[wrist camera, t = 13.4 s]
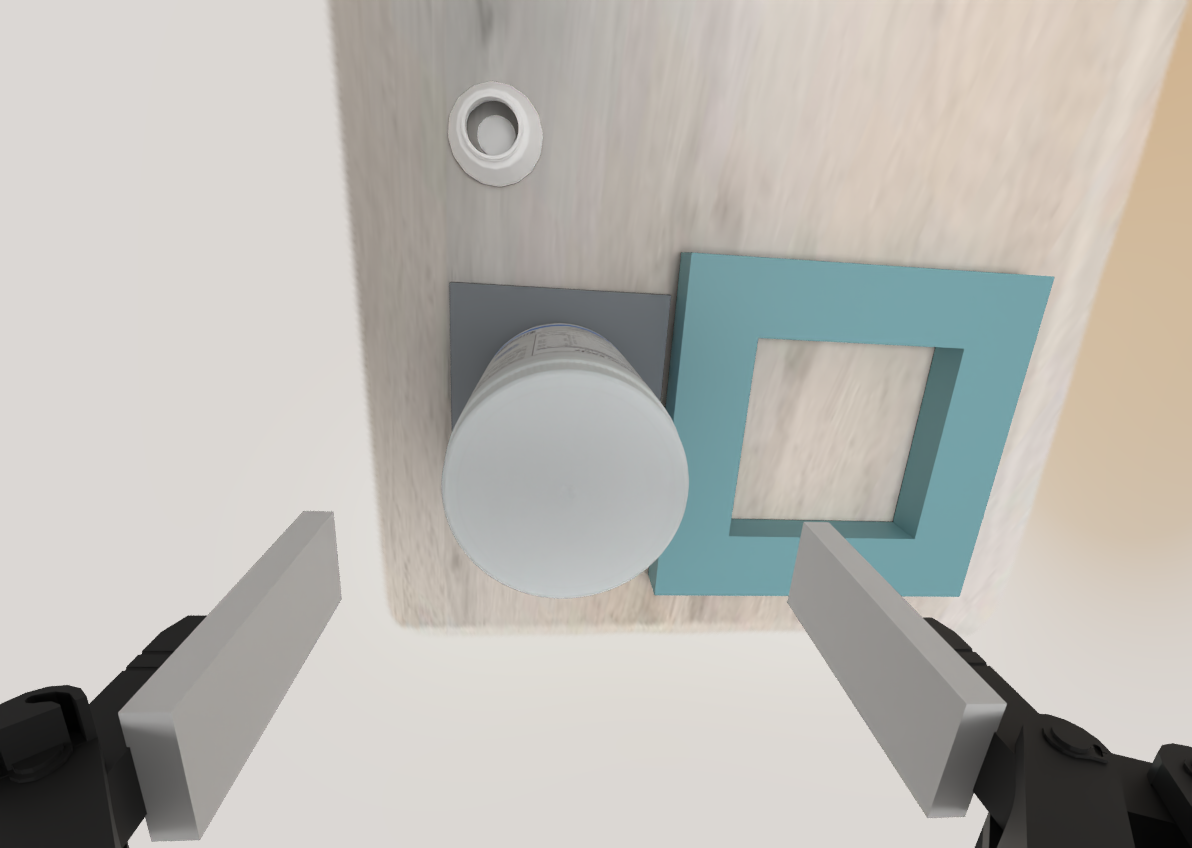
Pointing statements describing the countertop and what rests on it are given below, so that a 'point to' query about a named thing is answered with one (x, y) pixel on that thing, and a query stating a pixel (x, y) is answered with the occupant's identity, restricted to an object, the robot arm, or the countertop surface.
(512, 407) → the supplement tub
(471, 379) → the slate mat
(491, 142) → the white jar
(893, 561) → the holder frame
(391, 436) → the countertop surface
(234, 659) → the robot arm
